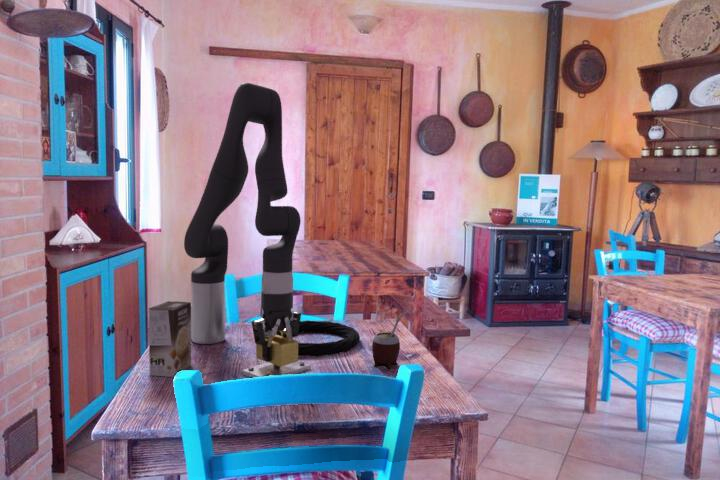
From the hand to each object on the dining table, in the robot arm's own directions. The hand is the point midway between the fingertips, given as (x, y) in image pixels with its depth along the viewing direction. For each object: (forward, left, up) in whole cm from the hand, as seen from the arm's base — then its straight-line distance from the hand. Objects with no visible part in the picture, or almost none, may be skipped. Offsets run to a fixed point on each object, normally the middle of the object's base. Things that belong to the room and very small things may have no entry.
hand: (276, 357), depth 135 cm
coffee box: (-19, -17, -4) cm, 26 cm away
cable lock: (-11, +22, -4) cm, 25 cm away
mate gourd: (+17, +22, -4) cm, 28 cm away
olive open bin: (0, 0, 0) cm, 0 cm away
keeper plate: (0, 0, -3) cm, 3 cm away
